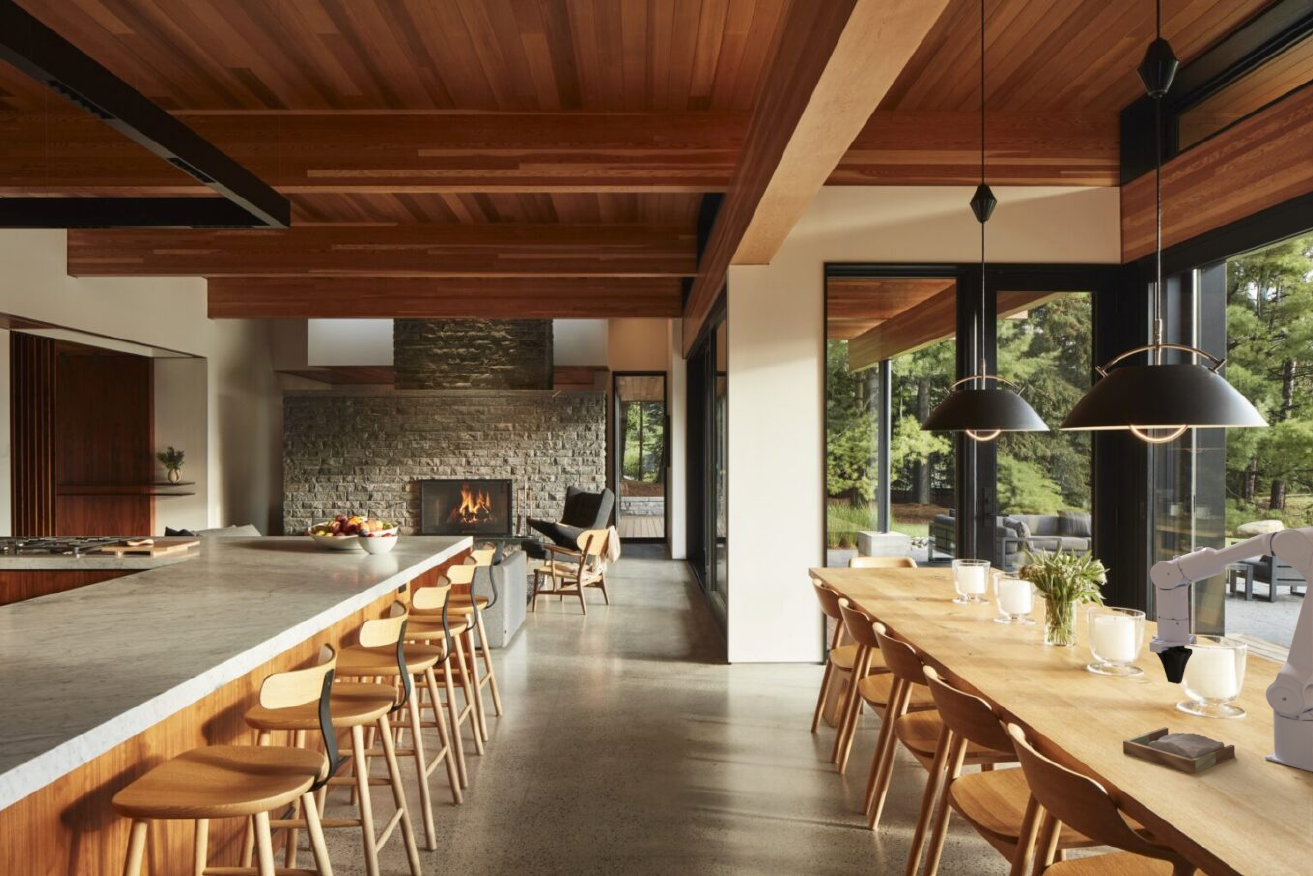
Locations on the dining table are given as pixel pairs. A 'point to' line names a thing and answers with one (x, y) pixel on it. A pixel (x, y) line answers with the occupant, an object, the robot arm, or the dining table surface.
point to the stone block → (1186, 744)
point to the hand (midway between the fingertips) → (1174, 682)
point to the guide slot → (1141, 749)
